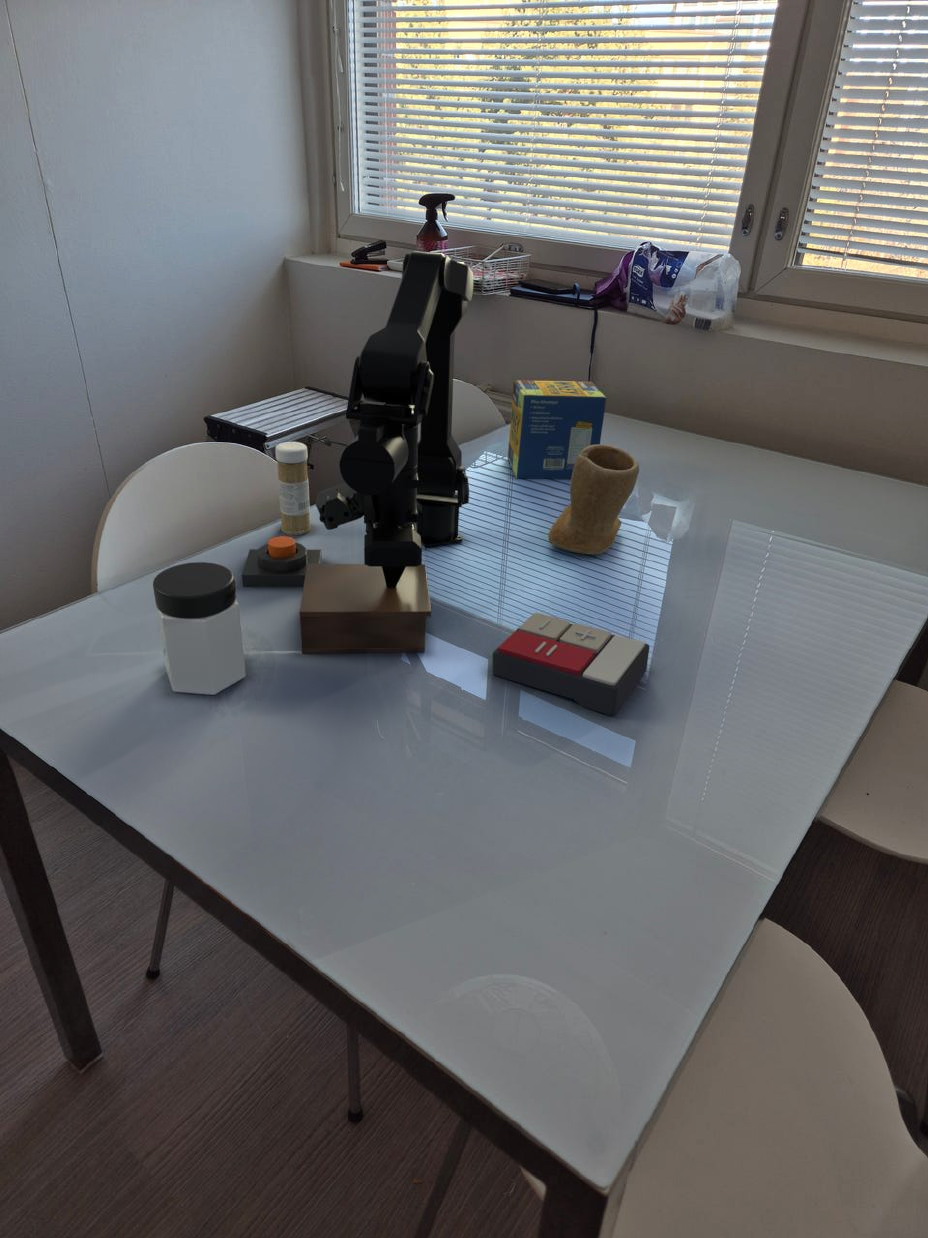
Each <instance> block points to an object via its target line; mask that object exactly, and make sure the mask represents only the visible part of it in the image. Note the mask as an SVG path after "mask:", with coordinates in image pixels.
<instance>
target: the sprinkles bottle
mask: <svg viewBox="0 0 928 1238" xmlns="http://www.w3.org/2000/svg"><path fill="white" fill-rule="evenodd" d="M274 449H275V460H276V463H277V476H278V479H277V483H278V497H279V511H280V518H281V519H280V520H281V527H280V528H281V532H283V533H285V534H286V535H289V536H290V535H291V536H302V535H306V534H307V533H309V532H310V531H311V529H312V526H311V520H310V519H311V517H310V510H311V507H310V488H309V487H310V485H309V484H310V483H309V477H308V457H309V455H308V446H307V445H306V444H304V443H302V442H298V441H285V442H281V443H278V444H277V445H276V446H275V448H274Z"/></svg>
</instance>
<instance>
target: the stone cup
mask: <svg viewBox="0 0 928 1238" xmlns="http://www.w3.org/2000/svg"><path fill="white" fill-rule="evenodd" d="M639 472H640V465H639V463H638V461H637V459H636V458H635V457H634V455H632V454H630V453H629V452H627V451H626V450H624V449H622V448H620V447H617V446H614V445H609V444H605V443H604V444H601V443H600V444H597V445H591V446H588V447H586V448H584V449H583V450H582V451H581V452H580V453H579V455H578V457H577V459H576V462H575V465H574V469H573V472H572V477H571V479H570V481H569V497H570V503H569V504H567V506H566V507H565V508H564V509H563V511H561V513H560V515H559V516H558V517H557V518H556V520H555V522H554V523H553V524H552V525H551V528H550V530H549V532H548V536H547V538H548V541H549V543H550V544H551V545H553V546H554V547H557V548H559V549H561V550H564V551H568V552H572V553H575V554H576V553H577V554H583V555H601V554H603V553H605V552H606V551H608V550H609V548H610V547H612V545H613V543H614V542H615V540H616V538H617V536H618V533H619V531H620V527H621V526H622V520H620V519H619V514H620V512H621V511H622V509H624V506H625V505H626V503H627V501H628V500H629V498H630V497H631V495H632V494H633V491H634V489H635V486H636V484H637V479H638V475H639Z"/></svg>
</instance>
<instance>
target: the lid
mask: <svg viewBox="0 0 928 1238" xmlns="http://www.w3.org/2000/svg"><path fill="white" fill-rule="evenodd" d="M426 567H427V566H426V563H422V564H421V565H419V566H417V567H406V568H405V570H404V572H403V574H402V576H401V578H400V580H399V582H398V584H397V586H396V587H395V588H388V587H387V586H386V582H385V578H384V574H383V570H382V567H370V566H367V565H365V564H364V563H322V564H307V568H306V574H305V581H304V587H302V593H301V594H302V595H301V601H300V607H299V618H300V617H426V618H430V617H432V607H431V599H430V591H429V584H428V576H427V568H426Z"/></svg>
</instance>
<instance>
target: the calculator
mask: <svg viewBox="0 0 928 1238" xmlns="http://www.w3.org/2000/svg"><path fill="white" fill-rule="evenodd" d="M649 653H650V645H649V644H648V643H645V641H641V640H638V639H634V638H630V637H627V636H622V635H618V634H612V632H611V631H609V630H605V629H601V628H598V627H593V626H589V625H586V624H582V623H579V622H575V623H571V620H567V619H562V618H559V617H555V616H551V615H548V614H544V613H540V612H534V613H533V614H532V615H530V617H529V618H528V619H526V620H525V621H524V622H523V623H522V624H521V625H520V626H519V627H518V628H516V630H514V631H513V633H511V634H510V635H509V636H508V637H507V638H506V639H505V640H504V641H503V642H502V643H501V644H500V645H499V646H497V648H496V649H495V650H494V651H493V652H492V672H491V673H492V675H494V676H496V677H500V678H503V679H505V680H508V681H509V680H510V681H512V682H516V683H519V684H522V685H525V686H528V687H532V688H535V689H538V690H541V691H544V692H548V693H552V694H555V695H557V696H561V697H564V698H568V699H571V700H574V701H575V702H576V703H577V704H578V705H579V706H580V707H582V708H585V709H588V710H591V711H595V712H598V713H601V714H604V715H608V716H615V715H616V714H617V713H618V712H619V710H620V709H621V707H622V706H623V704H624V703H625V702H626V701H627V699H628V697H630V695H631V693H632V692H633V691H634V689H635V688H636V686H637V685H638V683H639V682H640V681H641V680H642V678H643V677H644V675H645V673H646V672H647V668H648V662H649Z"/></svg>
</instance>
